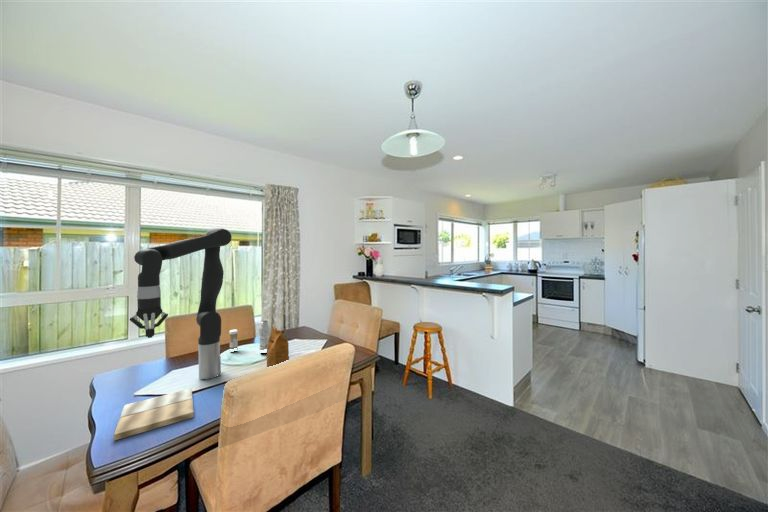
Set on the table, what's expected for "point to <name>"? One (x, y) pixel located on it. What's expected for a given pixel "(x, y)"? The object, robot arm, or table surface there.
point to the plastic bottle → (264, 335)
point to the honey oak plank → (153, 419)
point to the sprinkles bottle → (233, 339)
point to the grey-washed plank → (156, 402)
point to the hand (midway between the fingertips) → (150, 337)
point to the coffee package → (277, 348)
